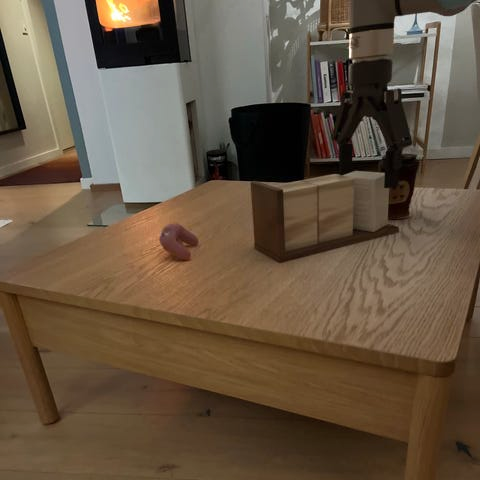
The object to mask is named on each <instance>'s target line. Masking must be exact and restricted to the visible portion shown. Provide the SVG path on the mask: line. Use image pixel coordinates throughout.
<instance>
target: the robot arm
mask: <svg viewBox="0 0 480 480" xmlns="http://www.w3.org/2000/svg"><path fill="white" fill-rule="evenodd" d="M348 1H349V2H348V6H349V8H348V9H349V11H348V12H349V29H348V33H349V41H348V42H349V43H348V46H349V49H348V58H349V60H351V61H352V63H350V64H349V65H348V85H349V86H350V87H352V89H351V90H343V91H341V93H340V105H339V108H338V112H337V115H336V119H335V122H334V126H333V129H332V134H331V137H330V138H331V141H332V142H336V144H337V145H338V163H339V166H338V169H339V173H338V175H345V174H348V173H351V172H353V141H352V138H353V137H354V135H355V133H356V131H357V129H358V127H359V125H360V123H361V122H362V120H363V119H364V118H372V120H373V121H375V122H376V125H377V126H378V128H379V131H380V133H381V135H382V137H383V138H384V141H385V143H386V145H387V147H388V148H387V149H386V150H385V155H386V156H385V179H384V188H391V187H395V186H398V182H399V168H401V164H402V154H403V151H404V149H405V148H408V147H411V146H412V145H413V137H412V135H411V131H410V127H409V124H408V120H407V116H406V113H405V109H404V104H403V97H402V96H403V95H402V93H403V92H402V88H391V89H388V84H389V83H391V81H392V79H393V60H392V59H390V56H392V55H394V43H395V41H394V39H395V20H396V17H404V16H409V15H418V14H426V13H433V14H437V15H439V16H442V17H452V16H453V17H454V16H457V14H461V13H462V12H465V10H466V9H468V7H470V6H471V4H472V5H473V4H474V3H475V2H477V1H478V0H348Z"/></svg>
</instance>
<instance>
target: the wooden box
mask: <svg viewBox="0 0 480 480" xmlns="http://www.w3.org/2000/svg"><path fill="white" fill-rule="evenodd" d="M250 196H251V197H250V198H251V212H252V225H253V240H254V241H253V242H254V244H253V248H254V249H255V250H256V251H258V252H259V253H262V254H264V255H265V256H267V257H269V258H270V259H271V260H274V261H276V262H278V263H284V262H285V263H286V262H289V261H292V260H296V259H300V258H303V257H307V256H312V255H315V254H320V253H323V252H327V251H330V250H331V251H332V250H335V249H338V248H342V247H346V246H350V245H355V244H358V243H362V242H365V241H369V240H374V239H377V238H381V237H385V236H388V235H392V234H396V233H399V232H400V226H398V225H397V226H396V225H393V224H390V223H388V222H387V225H386V226H384V227H382V228H380V229H378V230H377V231H375V232H369V231H363V230H357V229H353V205H354V178H351V177H347V176H342V175H339V173H333V174H327V175H322V176H318V177H317V176H316V177H312V178H307V179H301V180H297V181H291V182H284V183H280V184H275V185H270V184H266V183H264V182H261V181H258V180H253V181H250Z"/></svg>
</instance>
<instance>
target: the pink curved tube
mask: <svg viewBox="0 0 480 480" xmlns="http://www.w3.org/2000/svg"><path fill="white" fill-rule="evenodd" d="M158 238H159V243H160V245H161V247H162V248H163V249H164V250H165V252H167V253H169V254H171V255H172V256H174V257H175V258H177V259H178V260H179V259H180V260H183V261H189V260H190V259H191V257H192V254H191V251H190V250H189V249H188V248H187V247H185V245H184V244H186V245H188V246H194V247H197V246H198V245H199V238H198V237H197V236H196V234H194V233H192V232H191V231H190V230H187V229H186V228H185V227H184V226H183V225H181V224H179V223H178V221H177V222H175V223H169V224H167V225H166V226H164V227H163V228H162V230H161V235H160V236H159V237H158Z"/></svg>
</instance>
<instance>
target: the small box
mask: <svg viewBox="0 0 480 480" xmlns="http://www.w3.org/2000/svg"><path fill="white" fill-rule="evenodd" d="M342 176H347V177H351V178H354V205H353V229H357V230H363V231H369V232H375V231H377V230H378V229H380V228H382V227H384V226H386V225H387V223H388V219H389V218H388V202H389V188H384V179H385V173H379V171H378V172H376V171H363V170H354V171H352V172H351V173H348V174H345V175H342Z"/></svg>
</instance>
